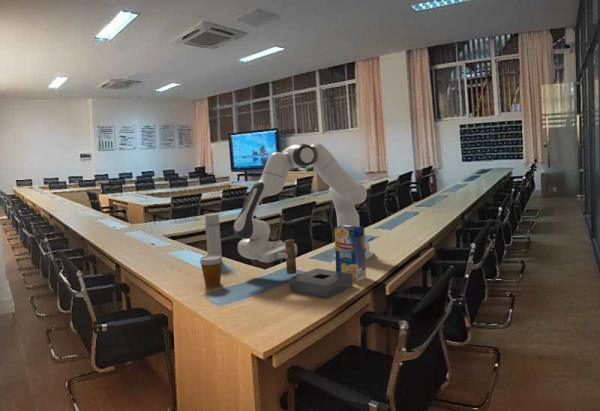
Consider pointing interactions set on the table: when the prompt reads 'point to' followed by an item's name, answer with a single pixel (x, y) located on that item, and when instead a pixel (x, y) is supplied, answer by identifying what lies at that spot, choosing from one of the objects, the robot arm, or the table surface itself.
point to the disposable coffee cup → (211, 270)
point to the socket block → (321, 283)
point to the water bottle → (213, 234)
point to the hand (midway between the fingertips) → (292, 254)
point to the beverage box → (350, 251)
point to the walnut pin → (290, 256)
